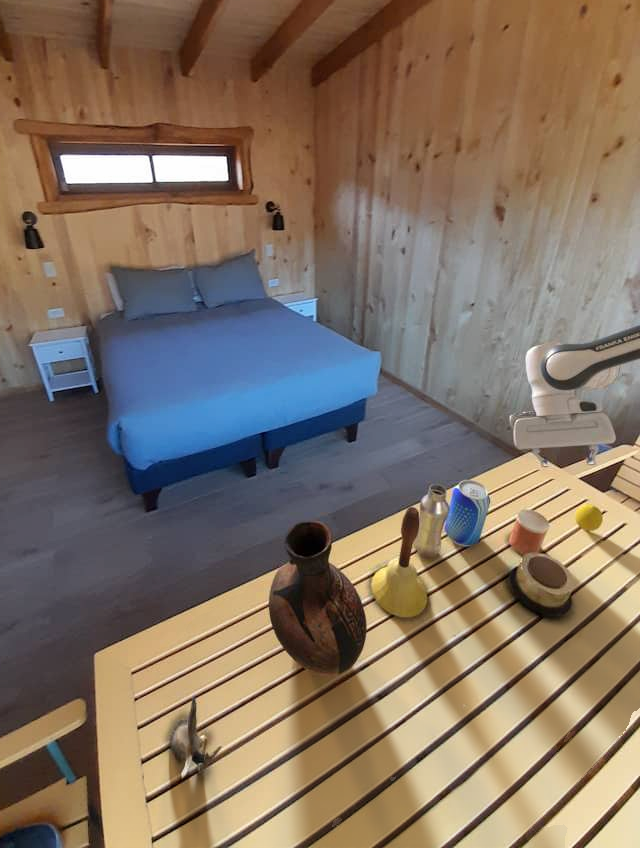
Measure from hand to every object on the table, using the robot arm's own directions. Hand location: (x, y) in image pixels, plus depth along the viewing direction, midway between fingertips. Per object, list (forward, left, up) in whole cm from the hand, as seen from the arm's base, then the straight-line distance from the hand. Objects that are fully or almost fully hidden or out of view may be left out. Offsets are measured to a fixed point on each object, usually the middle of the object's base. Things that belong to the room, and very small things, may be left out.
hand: (567, 466), depth 95 cm
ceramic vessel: (+52, +43, -22) cm, 71 cm away
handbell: (+36, +27, -22) cm, 50 cm away
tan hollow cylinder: (+6, +19, -22) cm, 30 cm away
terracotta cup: (+6, +6, -22) cm, 23 cm away
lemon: (-10, -4, -22) cm, 24 cm away
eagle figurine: (+68, +65, -22) cm, 97 cm away
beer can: (+21, +7, -22) cm, 31 cm away
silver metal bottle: (+30, +14, -22) cm, 40 cm away
